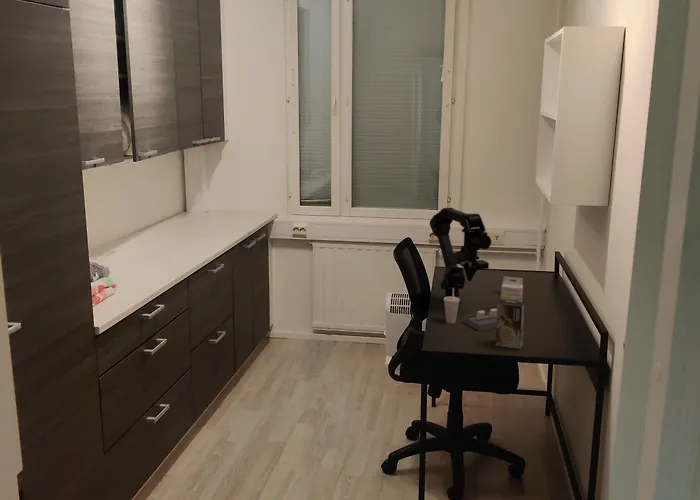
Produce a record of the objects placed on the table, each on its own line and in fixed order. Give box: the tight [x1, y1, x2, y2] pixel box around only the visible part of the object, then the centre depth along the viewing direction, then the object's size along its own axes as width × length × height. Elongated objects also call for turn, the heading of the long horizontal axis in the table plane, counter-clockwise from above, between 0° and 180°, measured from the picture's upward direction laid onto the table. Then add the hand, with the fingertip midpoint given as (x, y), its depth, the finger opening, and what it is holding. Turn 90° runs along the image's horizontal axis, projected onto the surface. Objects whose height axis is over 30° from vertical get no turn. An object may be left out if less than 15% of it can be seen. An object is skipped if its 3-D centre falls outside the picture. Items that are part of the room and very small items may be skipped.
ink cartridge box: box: [500, 276, 524, 302], centre depth 280 cm, size 9×5×15 cm, turn 71°
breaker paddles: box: [475, 308, 497, 320], centre depth 267 cm, size 1×16×4 cm, turn 114°
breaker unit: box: [464, 311, 497, 332], centre depth 268 cm, size 10×19×3 cm, turn 114°
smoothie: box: [443, 288, 461, 324], centre depth 269 cm, size 6×6×14 cm
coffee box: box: [495, 298, 526, 350], centre depth 244 cm, size 9×6×16 cm
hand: (469, 281), depth 281 cm, fingers closed
